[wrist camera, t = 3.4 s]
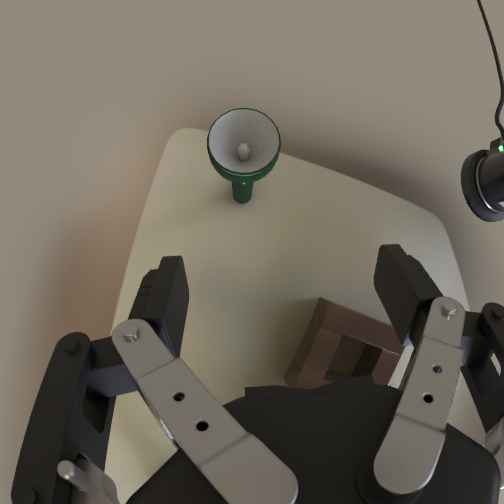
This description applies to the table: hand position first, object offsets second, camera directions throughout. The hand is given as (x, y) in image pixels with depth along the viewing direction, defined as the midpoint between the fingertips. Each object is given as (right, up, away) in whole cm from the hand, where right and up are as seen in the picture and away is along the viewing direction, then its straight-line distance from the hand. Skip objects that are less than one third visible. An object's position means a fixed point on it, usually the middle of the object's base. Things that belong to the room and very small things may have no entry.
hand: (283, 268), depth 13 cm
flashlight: (-2, +8, +28) cm, 29 cm away
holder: (+11, -13, +28) cm, 33 cm away
